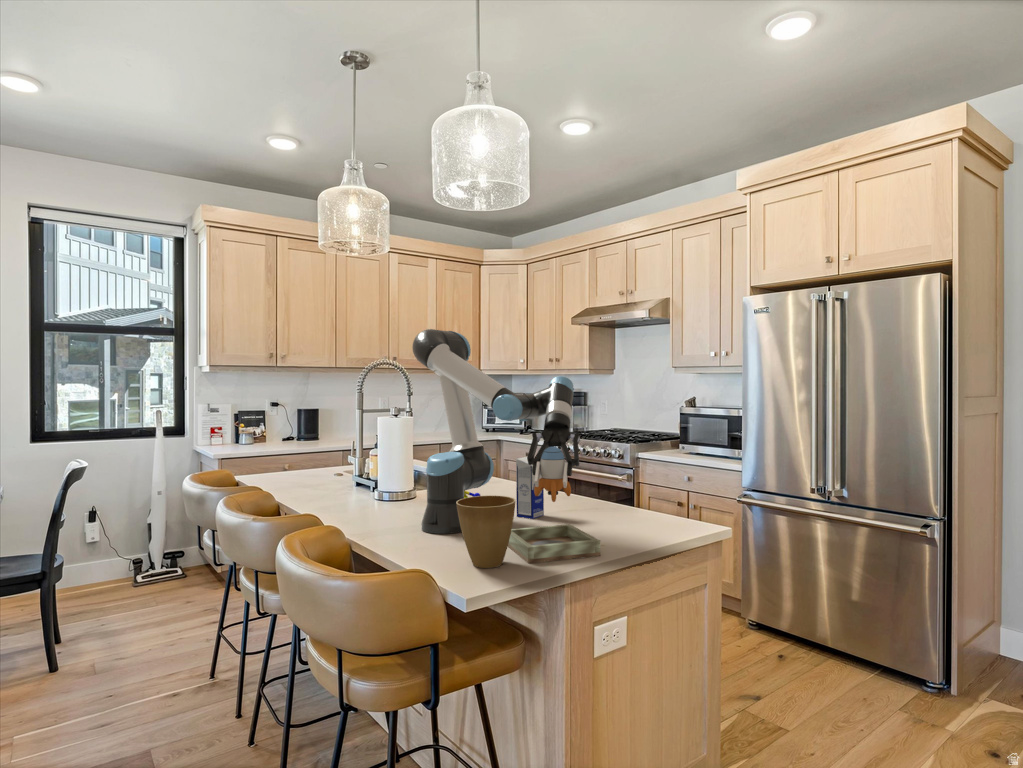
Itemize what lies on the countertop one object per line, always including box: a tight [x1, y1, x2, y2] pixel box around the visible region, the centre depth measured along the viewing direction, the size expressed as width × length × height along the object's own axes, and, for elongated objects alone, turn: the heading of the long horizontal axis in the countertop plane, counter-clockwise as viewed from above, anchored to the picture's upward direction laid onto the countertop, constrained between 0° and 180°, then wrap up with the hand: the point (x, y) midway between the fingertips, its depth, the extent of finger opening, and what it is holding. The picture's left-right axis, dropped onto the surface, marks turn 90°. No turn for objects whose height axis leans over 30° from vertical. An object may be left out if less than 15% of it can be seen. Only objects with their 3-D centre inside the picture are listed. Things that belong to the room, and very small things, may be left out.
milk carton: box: [515, 456, 545, 520], centre depth 207 cm, size 7×7×20 cm
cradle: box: [507, 523, 601, 564], centre depth 164 cm, size 20×20×4 cm
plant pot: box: [456, 495, 517, 569], centre depth 152 cm, size 15×15×16 cm
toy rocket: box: [534, 446, 572, 503], centre depth 165 cm, size 10×11×15 cm
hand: (550, 484), depth 162 cm, fingers closed on toy rocket, 7 cm apart
